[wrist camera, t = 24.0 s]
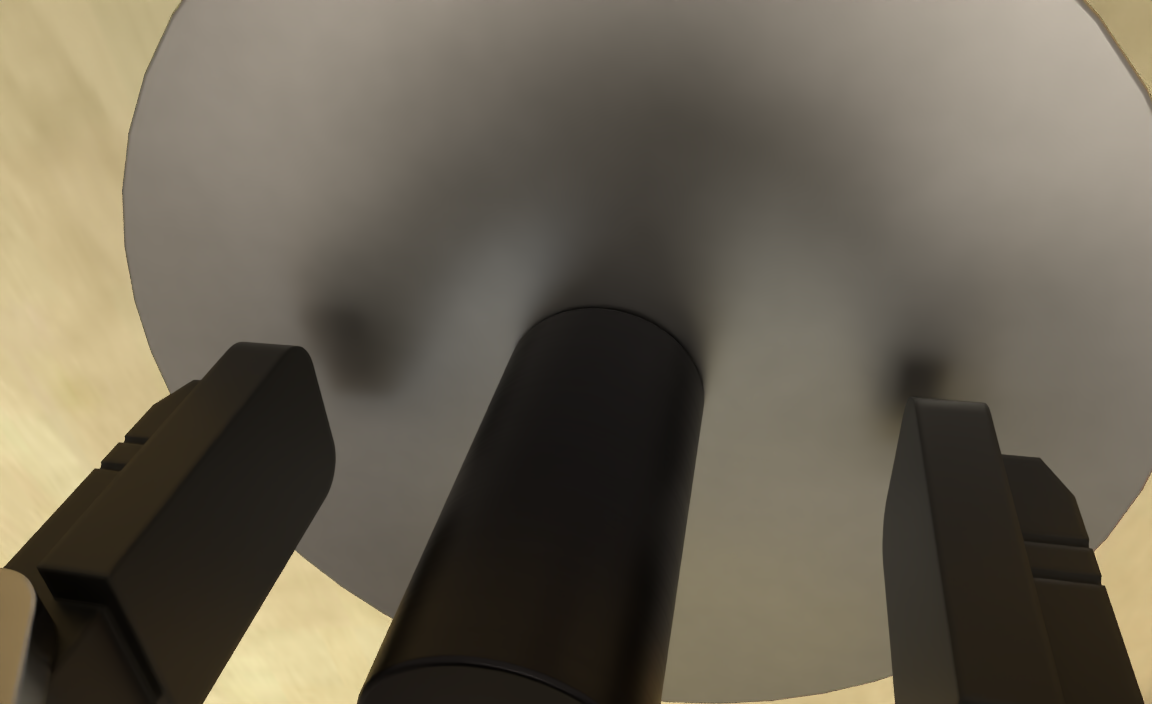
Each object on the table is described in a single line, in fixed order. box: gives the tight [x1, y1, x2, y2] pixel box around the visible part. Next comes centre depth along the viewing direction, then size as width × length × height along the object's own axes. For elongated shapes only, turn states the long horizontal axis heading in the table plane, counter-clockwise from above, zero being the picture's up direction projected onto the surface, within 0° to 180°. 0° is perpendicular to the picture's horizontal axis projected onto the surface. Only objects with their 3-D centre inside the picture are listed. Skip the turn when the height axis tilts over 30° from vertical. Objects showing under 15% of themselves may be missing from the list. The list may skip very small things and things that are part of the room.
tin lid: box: [122, 0, 1152, 704], centre depth 10 cm, size 12×12×6 cm
